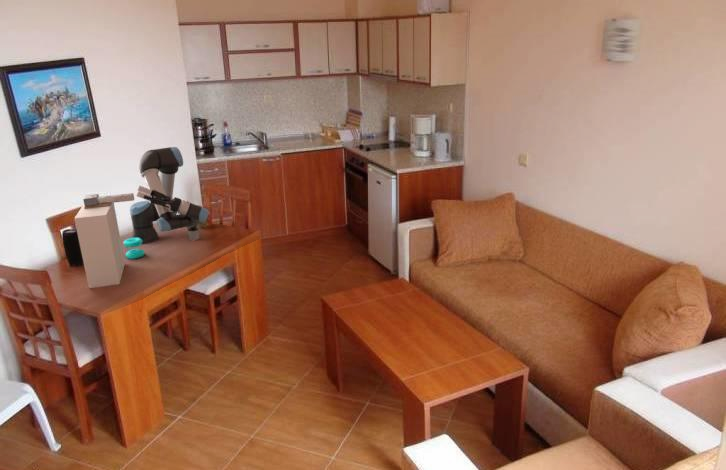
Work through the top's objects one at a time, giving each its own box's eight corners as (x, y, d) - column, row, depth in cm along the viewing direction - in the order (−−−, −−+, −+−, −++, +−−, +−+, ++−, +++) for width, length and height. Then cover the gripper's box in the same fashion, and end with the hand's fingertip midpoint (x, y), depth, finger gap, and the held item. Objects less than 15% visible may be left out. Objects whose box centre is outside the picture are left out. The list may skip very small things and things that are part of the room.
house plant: (213, 237, 345) (210, 212, 340) (196, 244, 334) (192, 218, 329) (197, 234, 352) (193, 209, 347) (179, 240, 341) (176, 215, 336)
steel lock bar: (134, 197, 296) (133, 190, 294) (133, 201, 288) (132, 193, 287) (87, 202, 289) (85, 195, 288) (84, 206, 282) (83, 198, 281)
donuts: (129, 236, 320) (145, 237, 318) (132, 253, 324) (148, 253, 322) (119, 242, 311) (135, 243, 309) (122, 259, 314) (138, 259, 312)
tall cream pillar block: (125, 263, 307) (112, 198, 296) (119, 284, 280) (105, 213, 268) (97, 267, 304) (84, 201, 292) (88, 288, 276) (73, 216, 265)
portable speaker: (88, 261, 314) (82, 227, 307) (79, 267, 305) (72, 233, 299) (74, 261, 314) (67, 227, 308) (64, 267, 305) (57, 233, 299)
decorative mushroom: (215, 228, 363) (212, 205, 359) (194, 232, 357) (191, 209, 352) (210, 223, 374) (207, 201, 370) (189, 226, 368) (186, 204, 364)
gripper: (181, 194, 309) (141, 179, 300) (182, 205, 288) (139, 189, 279) (176, 206, 310) (136, 191, 302) (176, 218, 289) (133, 203, 280)
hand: (138, 190), depth 290 cm, fingers open, 11 cm apart
